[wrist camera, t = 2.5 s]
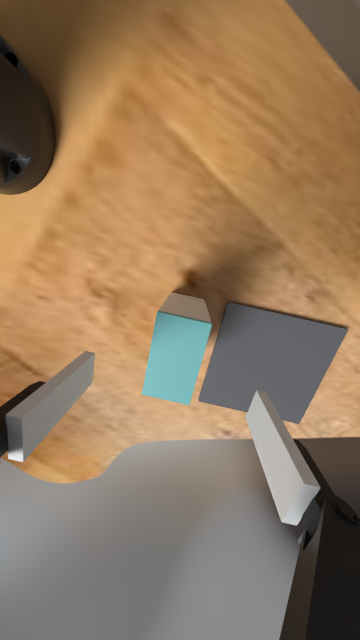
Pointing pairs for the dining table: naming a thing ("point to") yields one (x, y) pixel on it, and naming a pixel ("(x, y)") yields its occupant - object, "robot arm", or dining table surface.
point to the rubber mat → (269, 360)
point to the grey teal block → (177, 348)
